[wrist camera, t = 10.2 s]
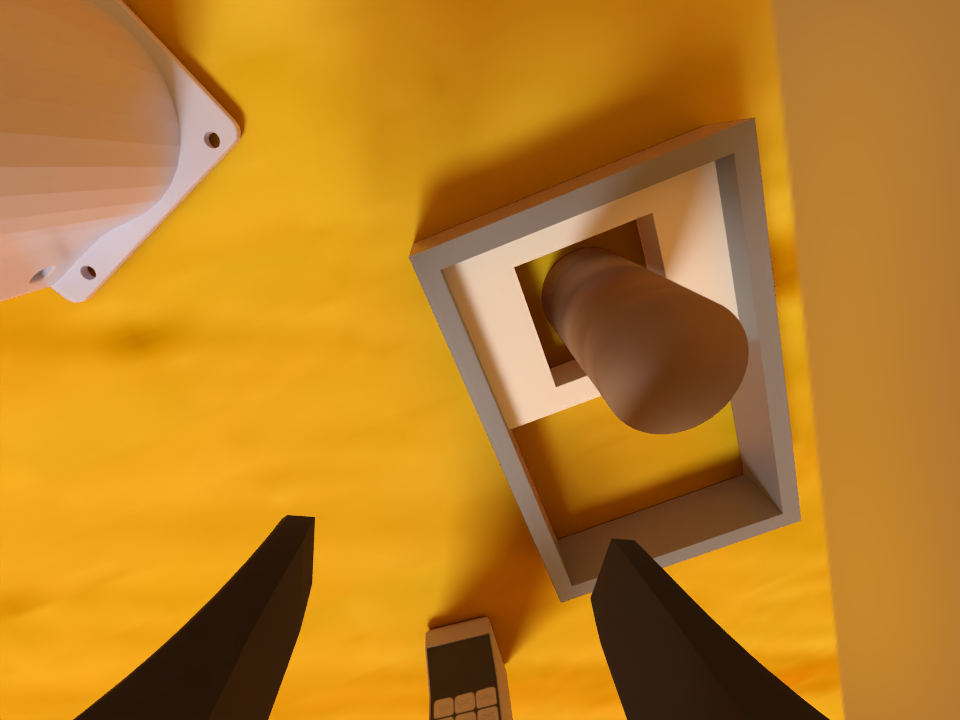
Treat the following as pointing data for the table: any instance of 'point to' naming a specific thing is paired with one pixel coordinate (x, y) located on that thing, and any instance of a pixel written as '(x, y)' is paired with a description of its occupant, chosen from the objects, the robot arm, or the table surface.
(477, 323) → the grey tray
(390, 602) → the table surface
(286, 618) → the robot arm
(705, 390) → the walnut peg
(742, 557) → the table surface
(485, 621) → the vintage mobile phone
